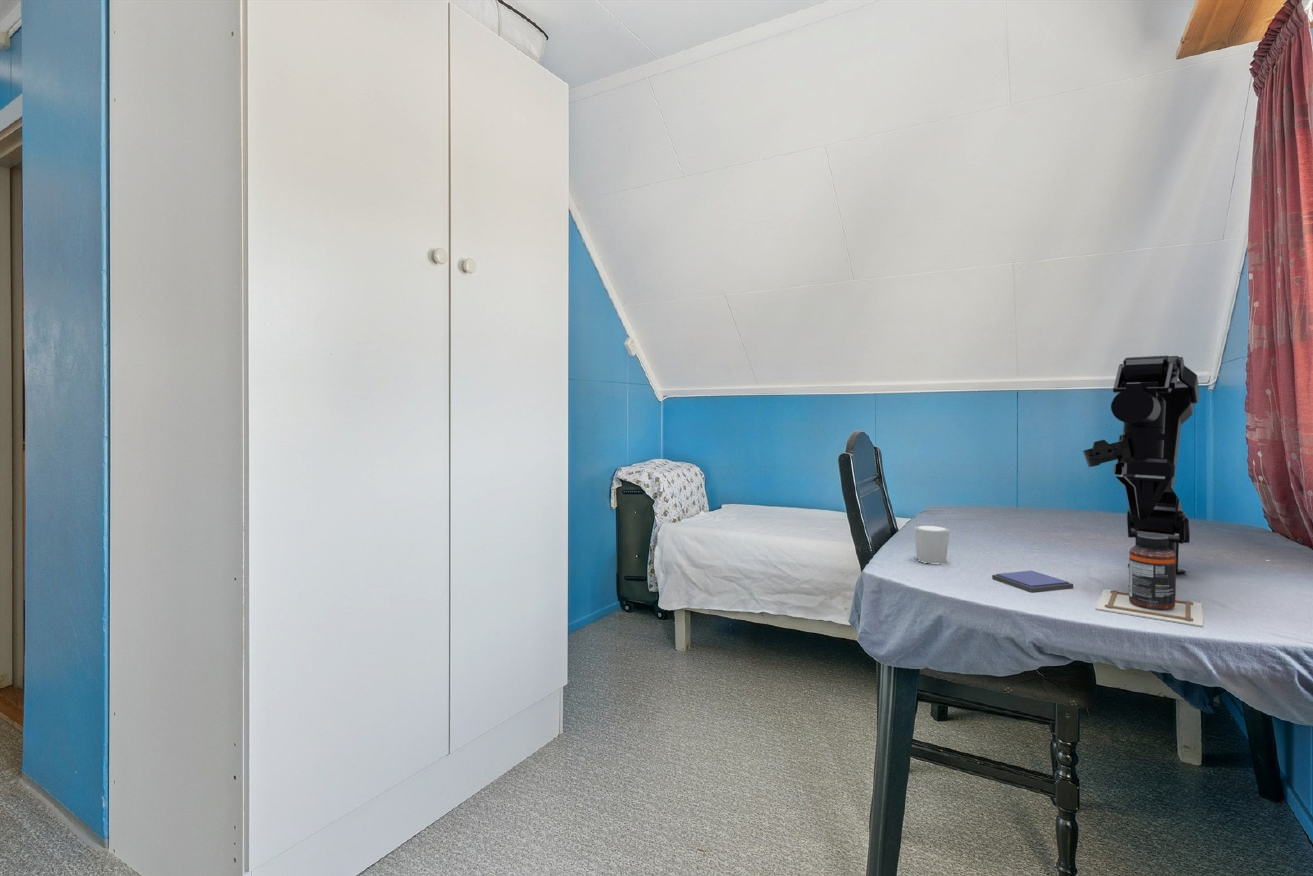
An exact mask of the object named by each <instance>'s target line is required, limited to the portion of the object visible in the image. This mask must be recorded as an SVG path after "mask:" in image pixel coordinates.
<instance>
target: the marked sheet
mask: <svg viewBox="0 0 1313 876" xmlns="http://www.w3.org/2000/svg"><path fill="white" fill-rule="evenodd" d="M1198 604H1202V605H1198ZM1094 608H1095V610H1098V611H1104V612H1110V613H1117V614H1120V615H1122V614H1123V615H1129V616H1133V617H1134V616H1135V617H1141V618H1147V619H1151V620H1152V619H1153V620H1159V621H1164V622H1170V623H1177V624H1182V625H1189V626H1195V627H1201V628H1204V618H1203V617H1204V616H1203V615H1204V614H1203V603H1201V602H1196V601H1191V600H1190V601H1188V600H1181V599H1177V598H1175V606H1174V607H1173V608H1171V609H1167V610H1158V609H1148V608H1144V607H1140V606H1137V605H1135V604H1133V603H1131V602H1130V600H1129V591H1128V592H1126V591H1119V590H1113V589H1112V590H1111V589H1108V588H1107V589H1105V588H1103V590H1102V592H1101V595H1100V596H1099V598H1098V602H1097V604H1096V606H1095V607H1094Z"/></svg>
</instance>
